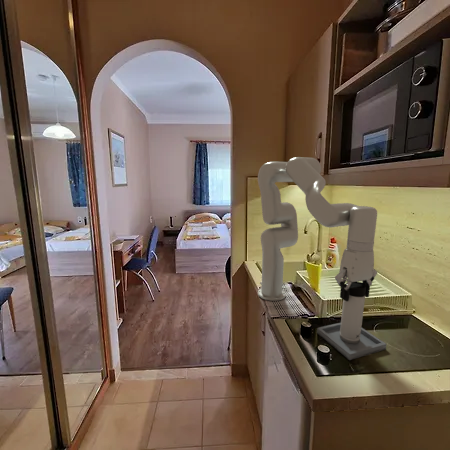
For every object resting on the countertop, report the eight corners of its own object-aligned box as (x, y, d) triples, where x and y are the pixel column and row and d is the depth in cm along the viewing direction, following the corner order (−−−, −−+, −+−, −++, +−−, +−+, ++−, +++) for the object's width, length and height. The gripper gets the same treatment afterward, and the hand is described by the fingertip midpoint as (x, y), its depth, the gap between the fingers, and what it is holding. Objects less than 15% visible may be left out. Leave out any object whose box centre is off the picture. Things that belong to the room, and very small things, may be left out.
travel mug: (363, 345, 89) (370, 288, 85) (341, 342, 90) (347, 286, 86) (358, 334, 95) (364, 280, 91) (337, 332, 96) (343, 278, 92)
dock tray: (316, 333, 96) (317, 327, 96) (350, 325, 102) (350, 320, 101) (349, 360, 83) (350, 354, 82) (385, 349, 88) (386, 343, 87)
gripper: (370, 240, 92) (365, 289, 96) (329, 245, 86) (324, 296, 90) (390, 246, 85) (384, 298, 89) (347, 251, 79) (341, 307, 83)
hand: (354, 297), depth 89 cm, fingers open, 7 cm apart
